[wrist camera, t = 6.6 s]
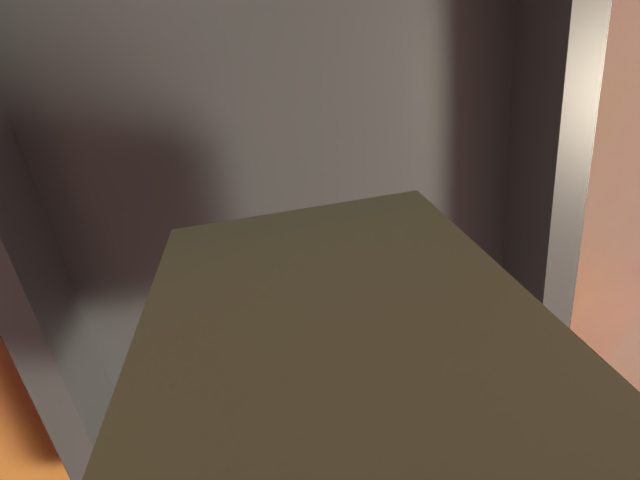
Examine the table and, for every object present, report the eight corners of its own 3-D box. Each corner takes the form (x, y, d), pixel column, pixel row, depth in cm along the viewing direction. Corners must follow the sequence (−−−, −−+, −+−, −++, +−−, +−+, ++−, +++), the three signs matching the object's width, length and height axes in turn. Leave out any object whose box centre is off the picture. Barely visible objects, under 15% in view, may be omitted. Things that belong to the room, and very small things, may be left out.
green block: (422, 379, 12) (708, 930, 5) (222, 419, 11) (187, 1098, 4) (417, 190, 10) (924, 652, 2) (171, 229, 9) (-80, 930, 2)
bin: (506, 382, 20) (554, 447, 17) (125, 458, 19) (102, 544, 16) (539, -136, 13) (636, -191, 10) (-89, -72, 11) (-217, -111, 8)
